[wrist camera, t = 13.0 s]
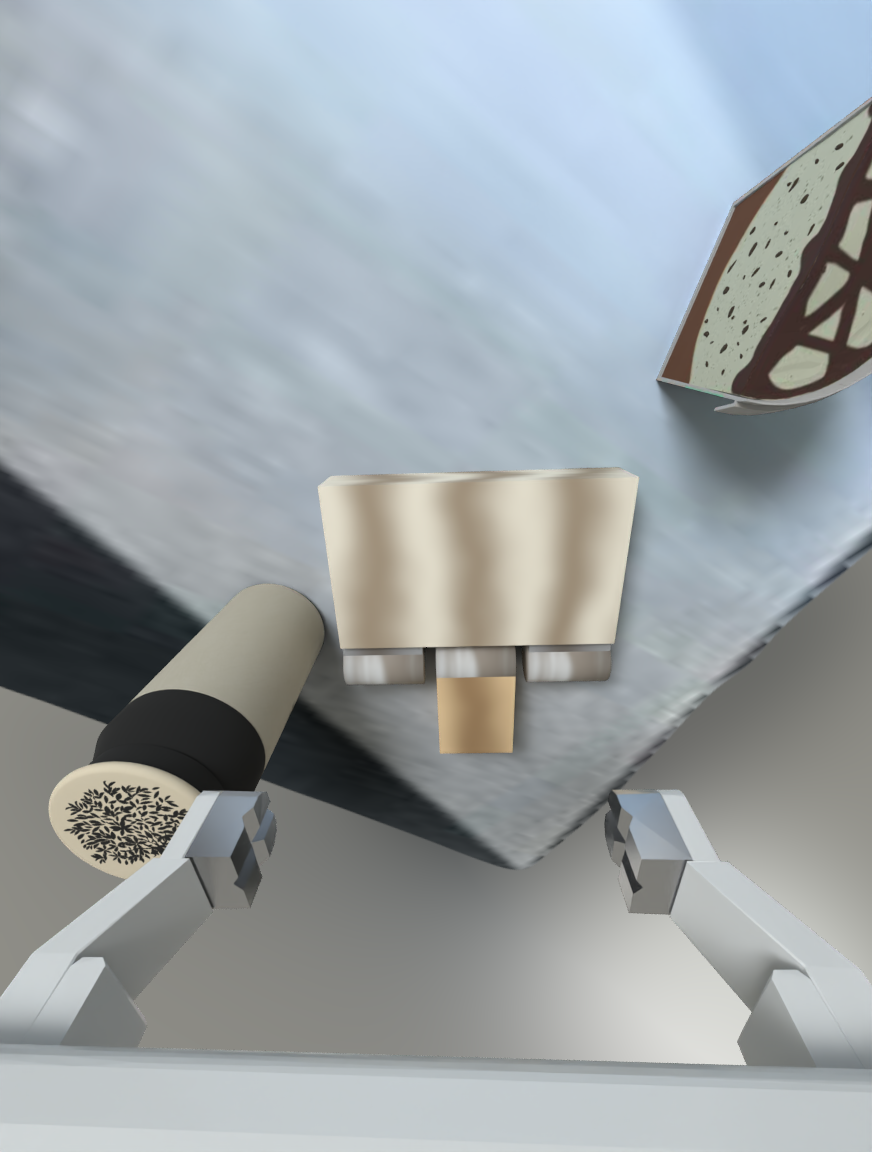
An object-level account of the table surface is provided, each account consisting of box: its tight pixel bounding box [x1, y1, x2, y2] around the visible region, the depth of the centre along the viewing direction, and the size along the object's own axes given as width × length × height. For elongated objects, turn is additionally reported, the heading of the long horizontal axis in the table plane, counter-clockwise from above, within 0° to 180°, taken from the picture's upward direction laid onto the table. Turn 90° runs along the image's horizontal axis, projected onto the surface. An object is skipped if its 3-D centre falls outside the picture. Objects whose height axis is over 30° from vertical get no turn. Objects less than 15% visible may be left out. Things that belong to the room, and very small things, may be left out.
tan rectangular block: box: [436, 645, 516, 753], centre depth 36 cm, size 6×10×4 cm, turn 2°
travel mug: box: [49, 584, 324, 879], centre depth 28 cm, size 8×8×18 cm
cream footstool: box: [318, 467, 639, 685], centre depth 32 cm, size 20×16×4 cm
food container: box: [656, 97, 872, 415], centre depth 22 cm, size 12×6×10 cm, turn 165°
